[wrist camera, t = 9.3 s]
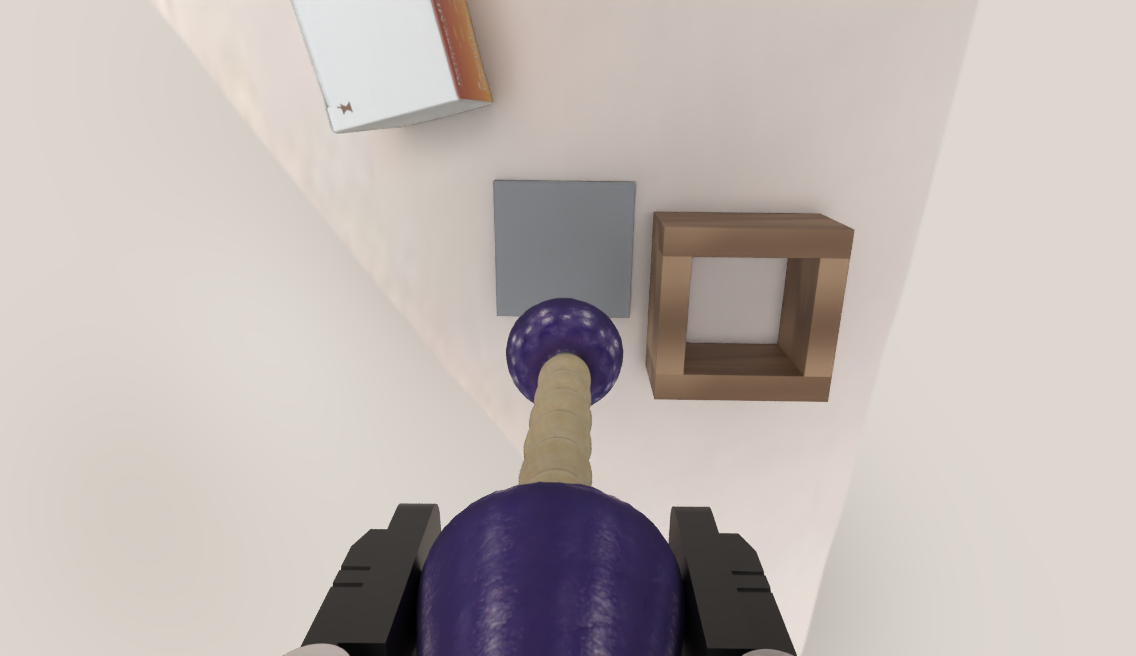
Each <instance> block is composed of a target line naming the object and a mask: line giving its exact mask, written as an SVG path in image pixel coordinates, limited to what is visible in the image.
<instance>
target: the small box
mask: <svg viewBox="0 0 1136 656" xmlns="http://www.w3.org/2000/svg"><path fill="white" fill-rule="evenodd" d="M290 1H291V4H292V6H293V9H294V12H295V15H296V18H297V21H298V24H299V27H300V30H301V33H302V36H303V39H304V42H305V45H306V48H307V51H308V54H309V57H310V60H311V63H312V66H313V69H314V72H315V75H316V78H317V81H318V85H319V88H320V91H321V94H322V97H323V100H324V104H325V108H326V112H327V115H328V119H329V122H330V126H331V129H332V131H333V132H334V133H349V132H359V131H367V130H375V129H387V128H400V127H404V126H408V125H412V124H416V123H421V122H425V121H429V120H433V119H437V118H441V117H445V116H449V115H453V114H457V113H460V112H464V111H468V110H472V109H476V108H480V107H484V106H487V105H491V104H492V103H493V100H492V96H491V93H490V89H489V86H488V83H487V79H486V76H485V72H484V69H483V65H482V62H481V58H480V54H479V50H478V47H477V43H476V39H475V35H474V31H473V27H472V23H471V19H470V14H469V10H468V6H467V3H466V0H290Z"/></svg>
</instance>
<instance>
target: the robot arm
mask: <svg viewBox="0 0 1136 656" xmlns="http://www.w3.org/2000/svg"><path fill="white" fill-rule="evenodd" d="M440 533H441V524H440V512H439V507H438V505H437V504H399V505H398V507H397V509H396V511H395V513H394V516H393V518H392V520H391V522H390V524H389V527H388V529H370V530H369V531H368V532H367V533H366V534H365V535H364V536H362V537H361V538H360V539H359V540H358V541H357V542H356V543H355V544H354V545H352V546H351V548H350V550H349V552H348V554H347V556H346V558H345V560H344V562H343V564H342V566H341V570H339V572H338V574H337V576H336V578H335V580H334V582H333V587H331V588H330V590H329V592H328V593H327V596H326V597H325V600H324V601H323V603H322V605H321V607H320V610H319V612H318V613H317V615H316V617H315V619H314V621H313V623H312V625H311V627H310V629H309V631H308V633H307V635H306V637H305V639H304V641H303V643H302V645H301V647H300V648H297V649H295V650H292V651H290V652H288V653H287V654H285V655H283V656H416V604H417V592H418V585H419V579H420V574H421V571H422V568H423V566H424V563H425V561H426V558H427V556H428V554H429V551H430V549H431V547H432V545H433V543H434V541H435V540H436V538H437V537H438V535H439V534H440ZM669 545H670V548H671V550H672V552H673V554H674V555H675V558H676V561H677V563H678V565H679V568H680V572H681V576H682V580H683V586H684V593H685V630H684V639H683V648H682V656H797V654H796V652H795V649H794V647H793V644H792V642H791V639H790V637H789V634H788V632H787V629H786V627H785V624H784V621H783V619H782V616H781V614H780V611H779V609H778V606H777V604H776V601H775V599H774V596H773V593H771V591H770V586H769V583H768V581H767V578H766V576H764V571H763V568H762V565H761V563H760V560H759V558H758V555H757V553H756V551H755V550H754V549H753V548H752V547H751V546H750V545H749V544H748V543H747V542H746V541H745V540H744V539H743V538H742V537H741V536H740V535H739V534H732V533H719V532H718V529H717V526H716V523H715V520H714V517H713V514H712V511H711V509H710V507H672V509H671V515H670V530H669Z"/></svg>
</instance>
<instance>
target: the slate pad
mask: <svg viewBox="0 0 1136 656" xmlns="http://www.w3.org/2000/svg"><path fill="white" fill-rule="evenodd" d="M493 188H494V225H495V262H496V299H497V316H521V315H523V314H524V312H525V311H527V310H528V309H529V308H531V307H532V306H534V305H537V304H539V303H541V302H543V301H546V300H550V299H554V298H573V299H576V300H580V301H584V302H587V303H589V304H591V305H594V306H595V307H597V308H598V309H600V310H601V311H602V312H604V313H605V314H606V315H607V316H608V317H610V318H629V315H630V292H631V268H632V245H633V222H634V198H635V182H624V181H538V180H494V181H493Z"/></svg>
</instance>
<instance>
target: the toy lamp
mask: <svg viewBox="0 0 1136 656" xmlns="http://www.w3.org/2000/svg"><path fill="white" fill-rule="evenodd" d="M506 358H507V364H508V369H509V372H510V375H511V377H512V379H513V382H514V383H515V385H516V387H517V388H518V389H519V391H520V392H521V393H522V394H523V395H524V396H525V397H526V398H527V399H529V400H530V401H531V402H533V403H534V407H533V409H532V411H531V414H530V420H529V431H528V434H527V437H526V439H525V443H524V459H525V460H524V461H523V464H522V467H521V470H520V474H519V485H517V486H513V487H511V488H508V489H506V490H501V491H496V492H494V493H491V494H489V495H487V496H485V497H483V498H481V499H479V500H477V501H476V502H474V503H472V504H470V505H469V506H468V507H467V508H466V509H464V510H463V511H462V512H461V513H459V514H458V515H456V516H455V517H454V518H453V519H452V520H451V521H450V523H449V524H448V525H447V526H445V527H444V529H443V530H442V531H441V533H440V534H439V535H438V537H437V538H436V540H435V541H434V543H433V545H432V547H431V549H430V551H429V554H428V556H427V558H426V561H425V563H424V566H423V568H422V571H421V574H420V579H419V585H418V592H417V604H416V656H682V648H683V639H684V630H685V593H684V586H683V580H682V576H681V572H680V568H679V565H678V563H677V561H676V558H675V555H674V554H673V552H672V550H671V548H670V545H669V544H668V543H667V541H666V540H665V538H664V537H663V536H662V534H661V533H660V531H659V530H658V528H657V527H656V526H655V525H654V524H653V523H652V522H651V521H650V520H649V519H648V518H647V517H646V516H645V515H644V514H642V513H641V512H639V511H638V510H636V509H635V508H633V507H632V506H631V505H630V504H628V503H626V502H623V501H621V500H619V499H617V498H616V497H614V496H611V495H608V494H605V493H603V492H602V491H600V490H598V489H596V488H594V487H591V485H592V471H591V466H590V462H589V459H590V456H591V450H592V448H591V437H590V430H591V425H592V415H591V411H590V406H591V405H593V404H594V403H596V402H598V401H599V400H600V399H602V398H603V397H604V396H605V395H606V394H607V393H608V392H609V391H610V390H611V388H612V387H613V385H614V384H615V382H616V380H617V378H618V376H619V373H620V370H621V366H622V362H623V347H622V341H621V337H620V335H619V333H618V331H617V329H616V327H615V325H614V324H613V322H612V321H611V319H610V318H609V317H608V316H607V315H606V314H605V313H604V312H602V311H601V310H600V309H598V308H597V307H595V306H594V305H591V304H589V303H587V302H584V301H580V300H576V299H573V298H554V299H550V300H546V301H543V302H541V303H539V304H537V305H534V306H532V307H531V308H529V309H528V310H527V311H525V312H524V314H523V315H521V316H520V317H519V318H518V320H517V321H516V322H515V324H514V326H513V328H512V330H511V331H510V335H509V338H508V342H507V348H506Z"/></svg>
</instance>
